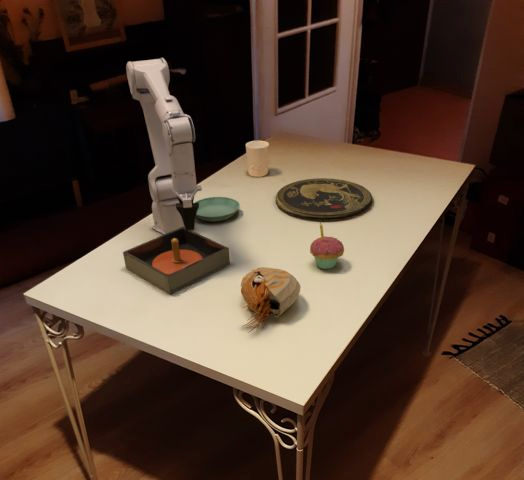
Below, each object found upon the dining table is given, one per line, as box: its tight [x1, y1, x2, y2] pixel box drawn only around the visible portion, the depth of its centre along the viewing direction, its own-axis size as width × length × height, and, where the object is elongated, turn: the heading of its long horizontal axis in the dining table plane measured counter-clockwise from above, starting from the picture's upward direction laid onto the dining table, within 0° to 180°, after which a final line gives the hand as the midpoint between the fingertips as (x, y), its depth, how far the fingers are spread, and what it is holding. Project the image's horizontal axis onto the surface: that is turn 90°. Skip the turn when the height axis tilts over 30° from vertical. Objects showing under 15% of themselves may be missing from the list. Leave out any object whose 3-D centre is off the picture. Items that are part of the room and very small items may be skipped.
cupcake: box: [309, 221, 345, 270], centre depth 141 cm, size 9×8×12 cm
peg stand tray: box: [122, 227, 231, 295], centre depth 144 cm, size 19×20×5 cm
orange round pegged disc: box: [152, 238, 203, 275], centre depth 143 cm, size 13×13×7 cm
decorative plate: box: [275, 177, 374, 221], centre depth 175 cm, size 30×2×30 cm
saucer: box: [194, 196, 241, 223], centre depth 169 cm, size 15×15×3 cm
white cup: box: [245, 140, 270, 178], centre depth 192 cm, size 8×8×10 cm
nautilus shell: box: [240, 266, 301, 334], centre depth 126 cm, size 8×22×15 cm
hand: (189, 222), depth 143 cm, fingers open, 7 cm apart
